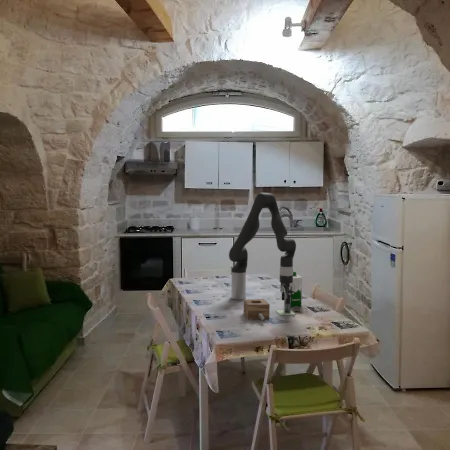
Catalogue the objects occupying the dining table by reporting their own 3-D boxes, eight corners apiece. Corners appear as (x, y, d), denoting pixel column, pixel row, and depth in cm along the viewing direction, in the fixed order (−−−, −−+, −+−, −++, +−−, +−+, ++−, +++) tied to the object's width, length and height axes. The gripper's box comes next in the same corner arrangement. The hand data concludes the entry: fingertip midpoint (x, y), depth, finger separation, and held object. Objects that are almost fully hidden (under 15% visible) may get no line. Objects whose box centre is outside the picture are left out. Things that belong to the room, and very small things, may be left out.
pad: (275, 311, 269) (275, 310, 269) (290, 310, 271) (290, 309, 271) (280, 315, 260) (280, 314, 260) (295, 315, 262) (295, 314, 262)
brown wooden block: (243, 313, 265) (243, 299, 264) (263, 312, 267) (264, 298, 266) (251, 324, 244) (251, 309, 243) (273, 323, 246) (273, 308, 245)
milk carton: (297, 303, 288) (297, 271, 287) (303, 306, 280) (304, 274, 278) (284, 303, 286) (284, 271, 284) (290, 307, 277) (290, 274, 276)
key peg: (281, 311, 267) (282, 288, 265) (289, 310, 269) (289, 288, 267) (285, 313, 263) (285, 290, 261) (292, 312, 264) (293, 290, 263)
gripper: (276, 271, 270) (276, 299, 271) (283, 276, 256) (283, 305, 257) (288, 271, 271) (288, 298, 273) (296, 276, 257) (296, 305, 259)
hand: (285, 302), depth 265 cm, fingers open, 8 cm apart
